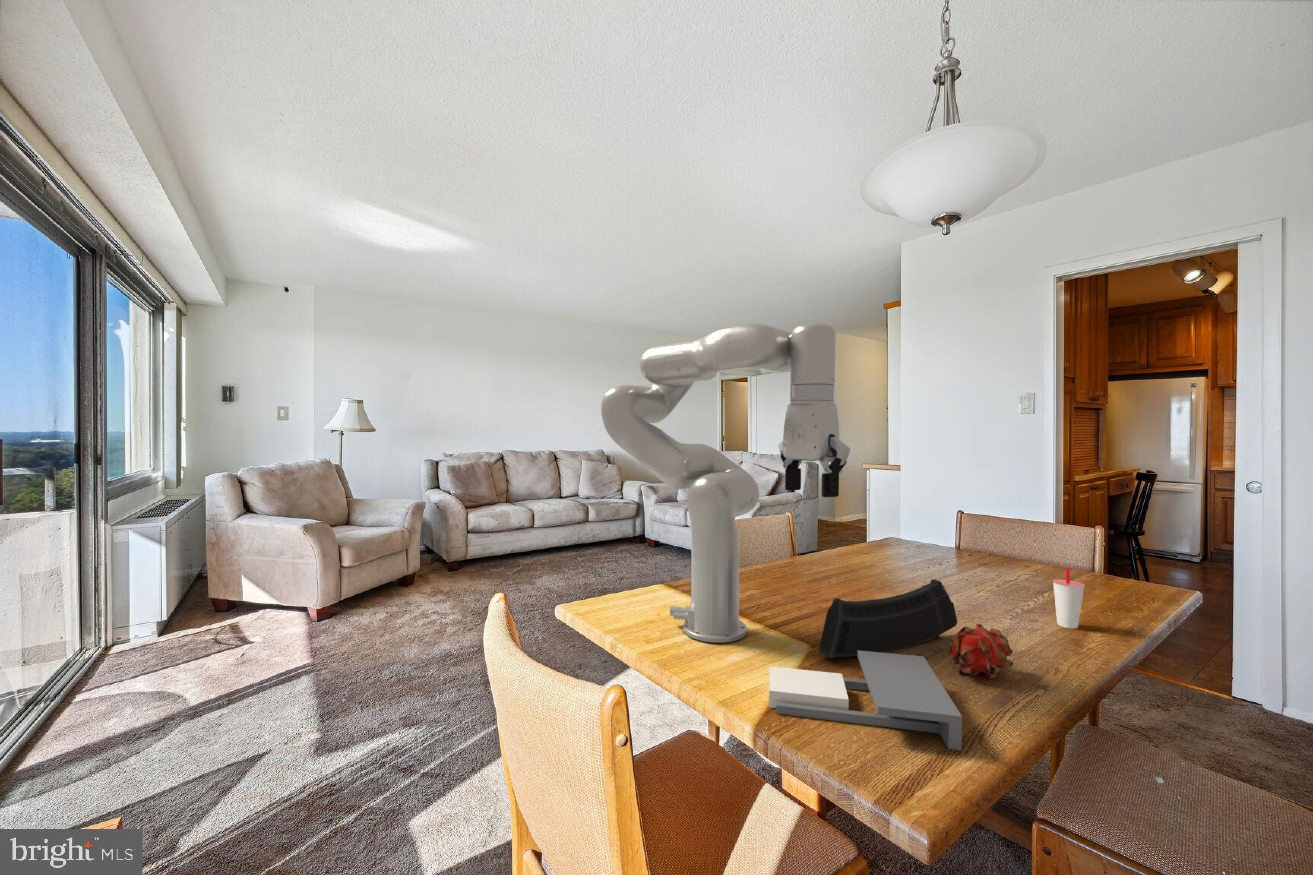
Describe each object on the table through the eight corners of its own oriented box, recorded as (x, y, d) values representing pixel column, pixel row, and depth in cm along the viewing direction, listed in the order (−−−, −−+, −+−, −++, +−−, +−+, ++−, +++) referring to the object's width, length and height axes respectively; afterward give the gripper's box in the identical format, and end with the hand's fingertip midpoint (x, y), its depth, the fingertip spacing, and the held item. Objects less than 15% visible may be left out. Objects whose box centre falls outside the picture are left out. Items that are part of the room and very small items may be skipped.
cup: (1046, 623, 112) (1047, 566, 111) (1059, 619, 114) (1061, 563, 114) (1075, 632, 107) (1077, 573, 107) (1089, 627, 109) (1090, 569, 109)
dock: (775, 726, 73) (776, 695, 73) (776, 668, 90) (776, 642, 90) (961, 750, 68) (962, 716, 68) (923, 683, 85) (923, 656, 85)
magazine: (819, 614, 91) (943, 547, 102) (806, 608, 94) (928, 543, 105) (841, 706, 93) (960, 630, 104) (828, 697, 96) (945, 624, 107)
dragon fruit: (1007, 676, 91) (963, 701, 86) (966, 634, 97) (922, 655, 92) (1036, 649, 86) (991, 674, 81) (991, 606, 92) (946, 627, 87)
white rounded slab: (769, 707, 78) (769, 690, 78) (769, 681, 86) (769, 666, 86) (848, 716, 76) (848, 699, 75) (841, 689, 83) (841, 673, 83)
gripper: (765, 397, 100) (764, 488, 100) (830, 393, 84) (828, 501, 85) (797, 398, 103) (796, 487, 104) (866, 394, 87) (864, 498, 88)
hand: (810, 493), depth 94 cm, fingers open, 9 cm apart
